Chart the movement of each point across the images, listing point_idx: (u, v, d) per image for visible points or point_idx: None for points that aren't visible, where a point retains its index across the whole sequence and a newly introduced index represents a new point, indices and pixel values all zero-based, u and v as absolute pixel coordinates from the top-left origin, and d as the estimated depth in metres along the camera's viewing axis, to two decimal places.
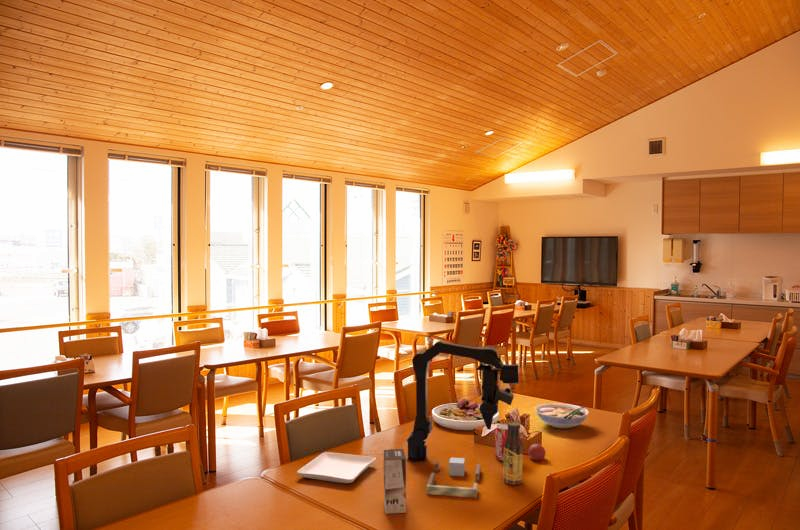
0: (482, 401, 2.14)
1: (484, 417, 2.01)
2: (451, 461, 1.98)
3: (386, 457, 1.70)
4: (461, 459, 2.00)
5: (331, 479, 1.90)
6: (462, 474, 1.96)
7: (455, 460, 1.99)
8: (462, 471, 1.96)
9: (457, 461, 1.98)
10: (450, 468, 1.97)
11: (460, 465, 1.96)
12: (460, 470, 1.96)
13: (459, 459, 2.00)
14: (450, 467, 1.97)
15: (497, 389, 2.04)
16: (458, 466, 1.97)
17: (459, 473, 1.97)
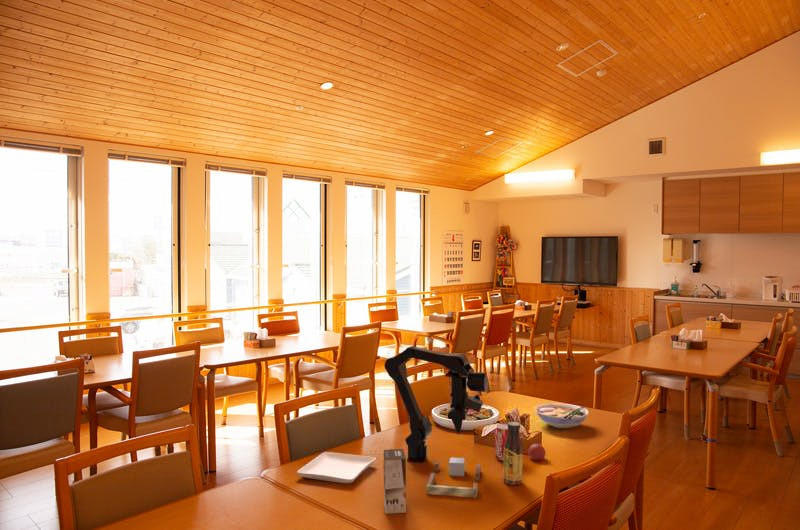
0: None
1: (454, 421, 2.05)
2: (451, 461, 1.98)
3: (386, 457, 1.70)
4: (461, 459, 2.00)
5: (331, 479, 1.90)
6: (462, 474, 1.96)
7: (455, 460, 1.99)
8: (462, 471, 1.96)
9: (457, 461, 1.98)
10: (450, 468, 1.97)
11: (460, 465, 1.96)
12: (460, 470, 1.96)
13: (459, 459, 2.00)
14: (450, 467, 1.97)
15: (466, 396, 2.03)
16: (458, 466, 1.96)
17: (459, 473, 1.97)
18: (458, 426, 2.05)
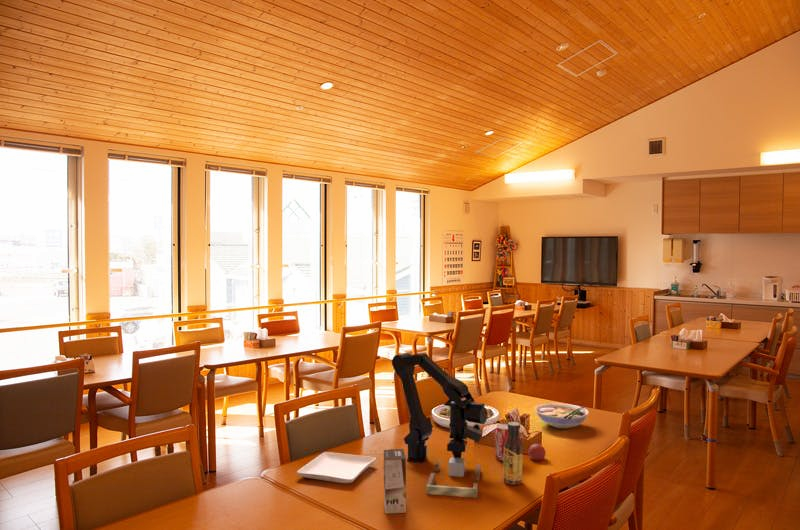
0: None
1: (453, 451, 2.01)
2: (451, 461, 1.98)
3: (386, 457, 1.70)
4: (461, 459, 2.00)
5: (331, 479, 1.90)
6: (462, 474, 1.96)
7: (455, 460, 1.98)
8: (462, 471, 1.96)
9: (457, 461, 1.97)
10: (450, 468, 1.97)
11: (459, 465, 1.96)
12: (460, 470, 1.96)
13: (459, 459, 1.99)
14: (450, 467, 1.97)
15: (465, 427, 1.99)
16: (458, 466, 1.96)
17: (459, 473, 1.96)
18: (458, 457, 2.01)
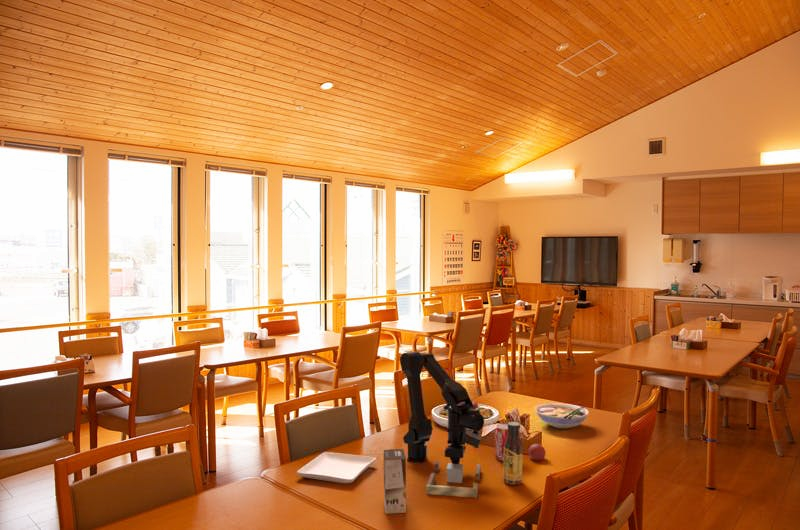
0: None
1: (451, 457, 1.96)
2: (449, 467, 1.92)
3: (386, 457, 1.70)
4: (459, 465, 1.94)
5: (331, 479, 1.90)
6: (460, 481, 1.90)
7: (453, 466, 1.93)
8: (460, 477, 1.90)
9: (455, 467, 1.92)
10: (448, 474, 1.91)
11: (458, 471, 1.90)
12: (458, 476, 1.90)
13: (457, 465, 1.94)
14: (448, 473, 1.91)
15: (464, 432, 1.94)
16: (456, 472, 1.91)
17: (457, 480, 1.91)
18: (456, 463, 1.96)
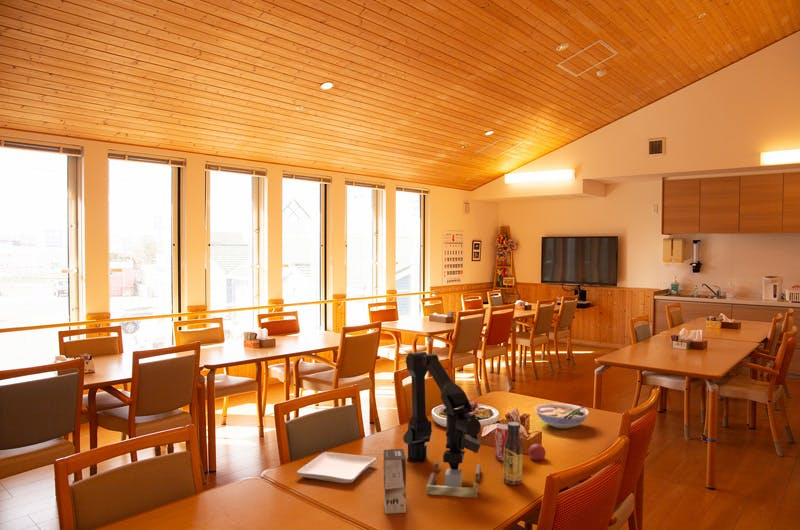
0: None
1: (450, 462, 1.90)
2: (447, 473, 1.87)
3: (386, 457, 1.70)
4: (458, 470, 1.89)
5: (331, 479, 1.90)
6: None
7: (452, 472, 1.88)
8: (459, 484, 1.85)
9: (454, 473, 1.87)
10: (446, 480, 1.86)
11: (456, 477, 1.85)
12: (457, 483, 1.85)
13: (456, 471, 1.89)
14: (446, 479, 1.86)
15: (463, 436, 1.89)
16: (455, 478, 1.85)
17: (456, 486, 1.85)
18: (455, 468, 1.91)
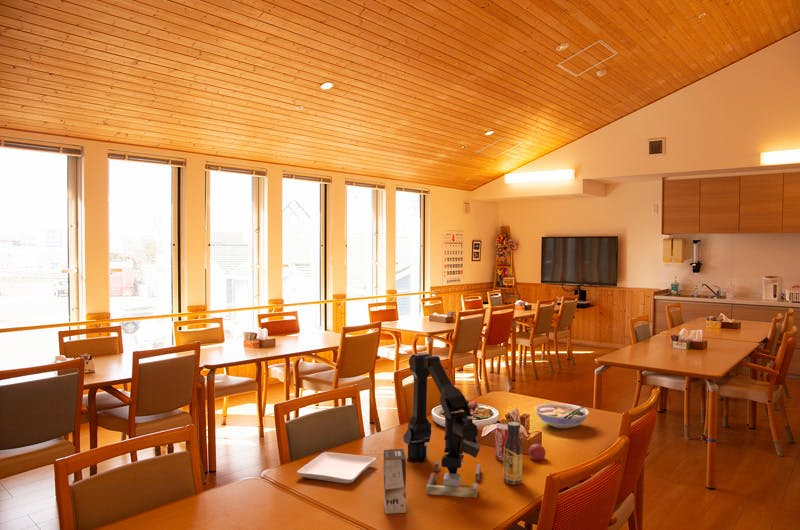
0: None
1: (448, 467, 1.87)
2: (446, 477, 1.83)
3: (386, 457, 1.70)
4: (456, 475, 1.85)
5: (331, 479, 1.90)
6: None
7: (450, 476, 1.84)
8: None
9: (452, 478, 1.83)
10: (444, 485, 1.82)
11: (455, 482, 1.82)
12: None
13: (454, 475, 1.85)
14: (444, 484, 1.82)
15: (462, 440, 1.85)
16: (454, 482, 1.82)
17: None
18: (453, 472, 1.87)
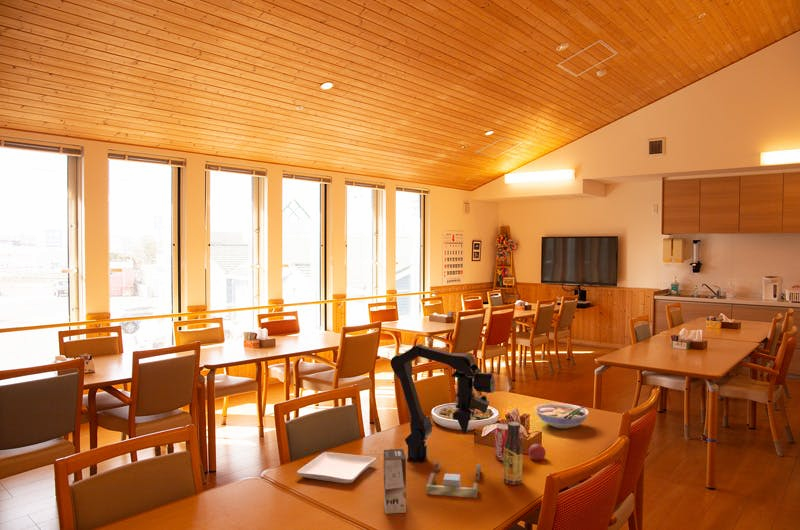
0: None
1: (460, 421, 2.03)
2: (446, 478, 1.83)
3: (386, 457, 1.70)
4: (456, 475, 1.85)
5: (331, 479, 1.90)
6: None
7: (450, 477, 1.84)
8: None
9: (452, 478, 1.83)
10: (444, 485, 1.82)
11: (455, 482, 1.82)
12: None
13: (454, 475, 1.85)
14: (444, 484, 1.82)
15: (472, 397, 2.01)
16: (453, 483, 1.82)
17: None
18: (464, 427, 2.04)
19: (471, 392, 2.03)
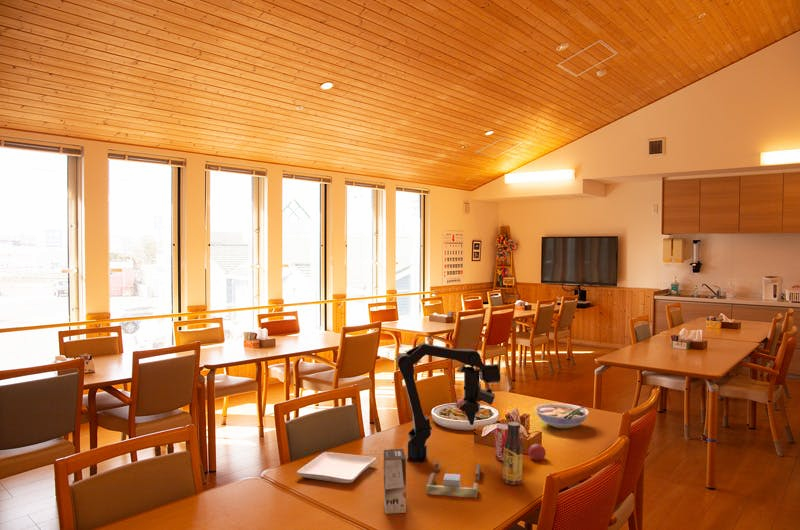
0: None
1: (467, 413, 2.13)
2: (446, 478, 1.83)
3: (386, 457, 1.70)
4: (456, 475, 1.85)
5: (331, 479, 1.90)
6: None
7: (450, 477, 1.84)
8: None
9: (452, 478, 1.83)
10: (444, 485, 1.82)
11: (455, 482, 1.82)
12: None
13: (454, 475, 1.85)
14: (444, 484, 1.82)
15: (479, 390, 2.12)
16: (453, 483, 1.82)
17: None
18: (471, 418, 2.14)
19: (478, 385, 2.13)
